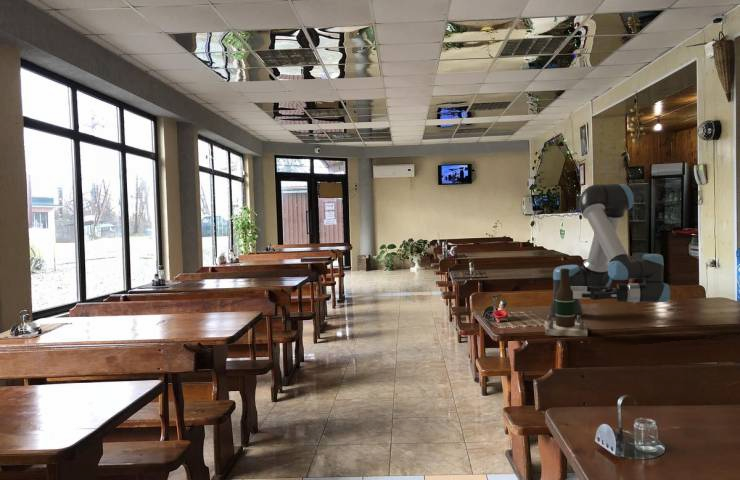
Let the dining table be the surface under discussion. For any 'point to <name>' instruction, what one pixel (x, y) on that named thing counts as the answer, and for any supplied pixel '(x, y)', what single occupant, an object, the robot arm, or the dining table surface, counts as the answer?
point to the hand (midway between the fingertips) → (571, 292)
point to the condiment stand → (565, 328)
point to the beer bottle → (564, 302)
